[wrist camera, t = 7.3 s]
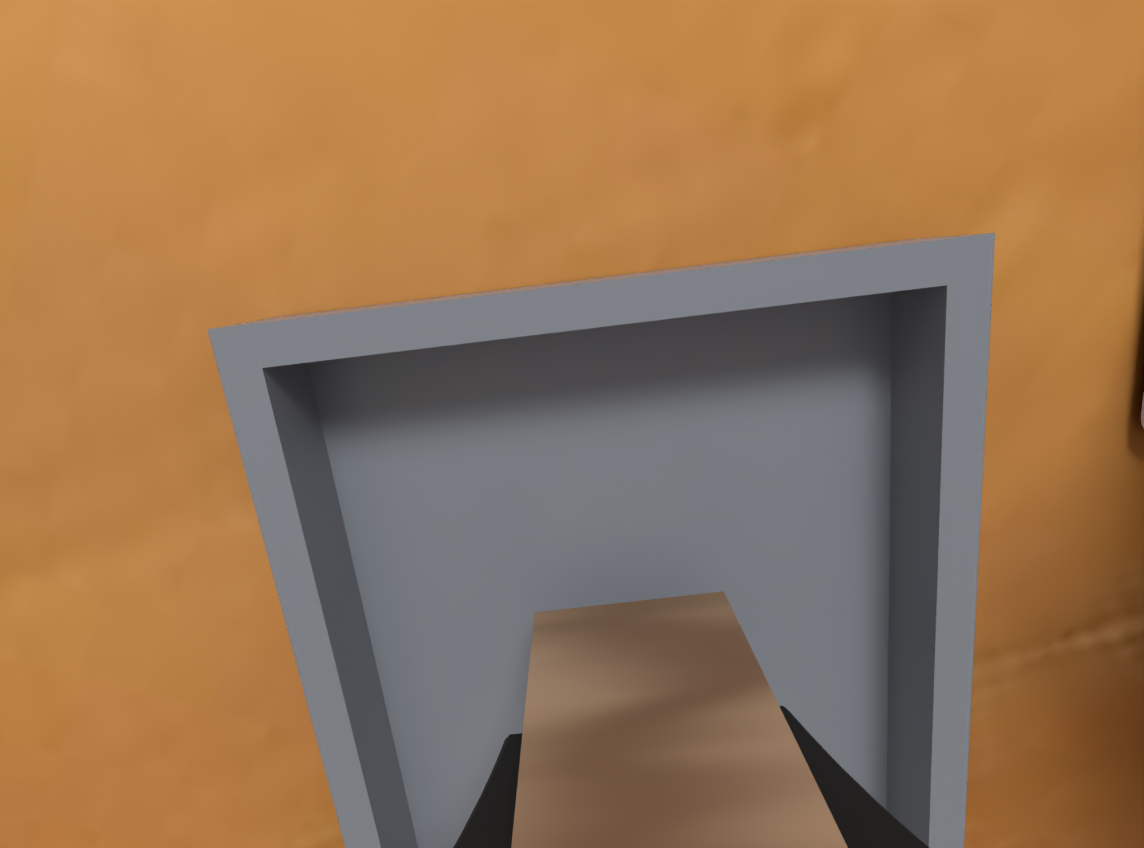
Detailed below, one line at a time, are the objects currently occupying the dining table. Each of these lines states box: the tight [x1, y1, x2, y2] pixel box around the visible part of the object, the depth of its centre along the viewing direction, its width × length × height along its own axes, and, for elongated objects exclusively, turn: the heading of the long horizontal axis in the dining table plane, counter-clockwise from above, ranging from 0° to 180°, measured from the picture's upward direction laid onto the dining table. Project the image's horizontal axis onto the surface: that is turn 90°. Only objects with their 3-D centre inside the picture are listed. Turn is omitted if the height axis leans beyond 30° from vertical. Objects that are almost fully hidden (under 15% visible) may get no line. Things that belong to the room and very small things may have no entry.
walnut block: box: [511, 591, 848, 848], centre depth 11 cm, size 4×4×6 cm
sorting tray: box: [208, 233, 995, 848], centre depth 14 cm, size 14×18×2 cm
